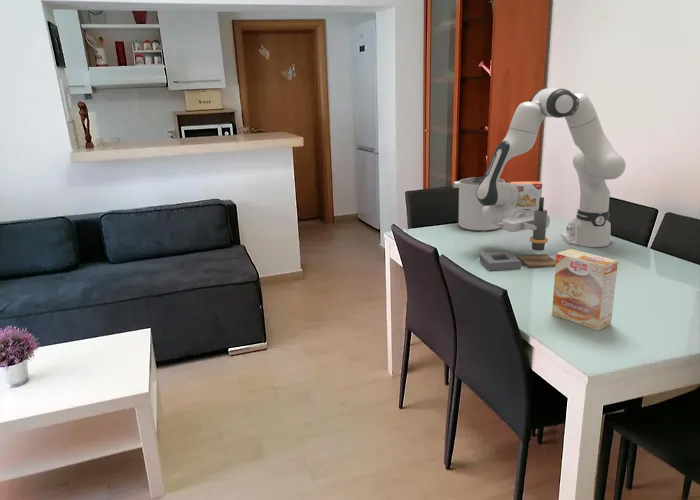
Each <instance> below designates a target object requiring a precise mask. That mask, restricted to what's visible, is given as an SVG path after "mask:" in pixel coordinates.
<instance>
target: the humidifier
mask: <svg viewBox="0 0 700 500" xmlns="http://www.w3.org/2000/svg"><path fill="white" fill-rule="evenodd" d="M483 177H484V176H480V177H479V176H478V177H468V178H462V179H460V180H458V181H453V182H452V187H453V189H455V188H456V189H457V188H458V227H459V228H460V227H461V228H460V229H462V230H465V231H469V230H470V231H471V232H479V231H485V232H491V231H498V230H500V229H502V226H496V225H493V224H491V223H489V222H487V221H486V220H485V219H484V217H483V215H482V210H483V207H484V206H483V205H482V204H481V203H480V202H479V201H478V199H477V196H476V191H477V188H478V186H479V184H480V183H481V181H482V179H483ZM498 182H505V180H504V179H503V178H499V180H498ZM505 183H506V182H505Z"/></svg>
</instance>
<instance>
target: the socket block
mask: <svg viewBox="0 0 700 500" xmlns="http://www.w3.org/2000/svg"><path fill="white" fill-rule="evenodd" d="M480 261H481V262H482V263H483V264H482V263H481V262H480ZM479 262H480V263H481V264H482V265H483V266H484V267H485V268H486V269H487V270H488V272H490V271H494V270H496V271H503V270H502V269H511V270H521V268H522V266H521V265H522V262H521V261H520V260H519V259H518V258H517V256H515V254H513V253H512V252H511V251H499V252H483V253H482V252H481V253H479Z"/></svg>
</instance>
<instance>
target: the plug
mask: <svg viewBox="0 0 700 500" xmlns="http://www.w3.org/2000/svg"><path fill="white" fill-rule="evenodd" d="M544 204H545V197H543V196H541V197H540V199H539V209H538V210H535V211H534V225H537V230H532V236H529V242H531V249H532V250H533V251H536V252H542V251H545V244H547V243H548V242H549V239H548V237H546V233H547V228H546V221H547V215H548V210H546V209H544V206H545V205H544Z"/></svg>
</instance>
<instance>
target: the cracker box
mask: <svg viewBox="0 0 700 500" xmlns="http://www.w3.org/2000/svg"><path fill="white" fill-rule="evenodd" d="M509 183H513V184H515V185H516V186H517V188H518V190H519V200H518V203H517V206H516V208H519V209H533V210H534V211H535V210H538V209H539V199H540V197H542V194H543V191H542V190H543V183H542V182H541V181H510V182H509Z"/></svg>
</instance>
